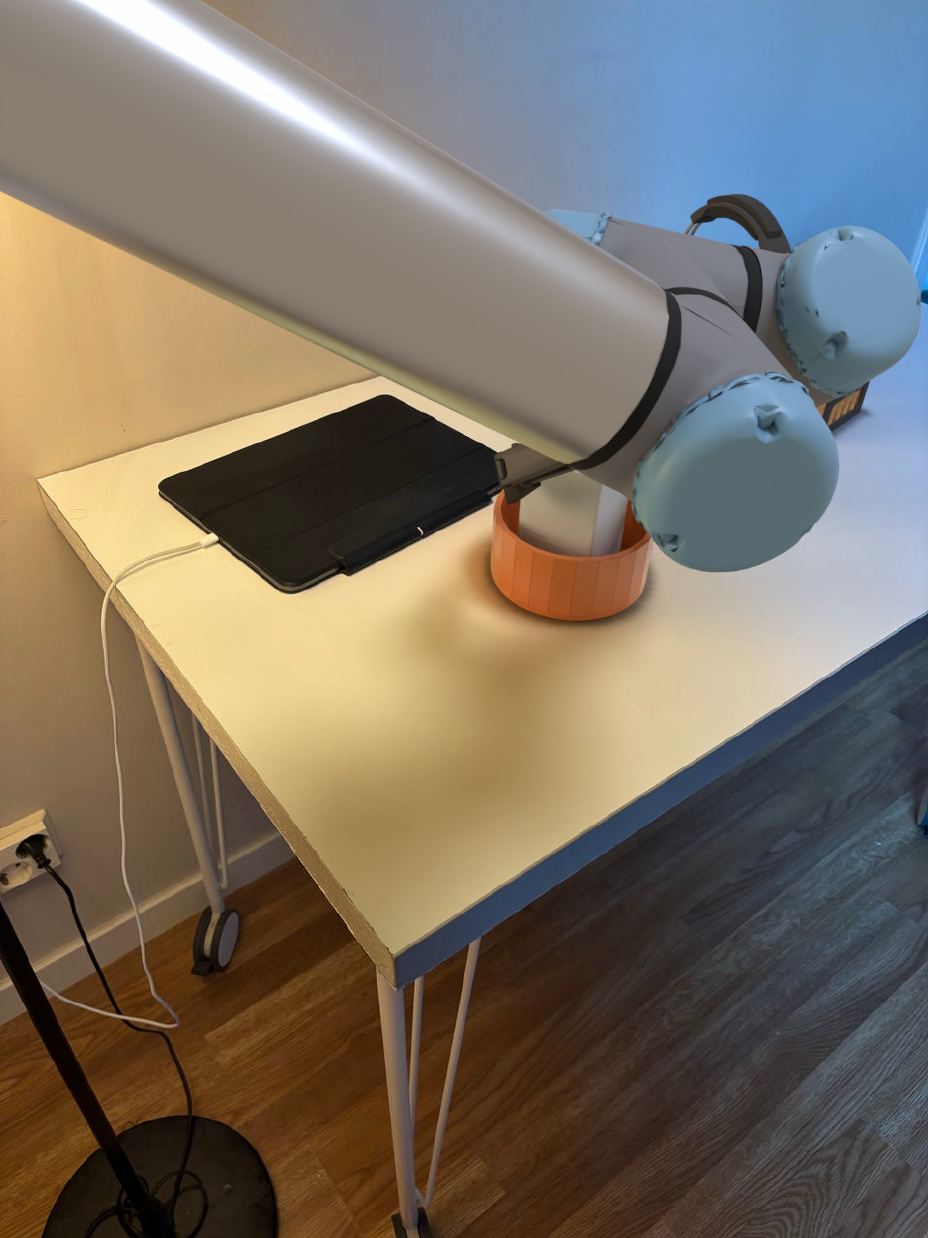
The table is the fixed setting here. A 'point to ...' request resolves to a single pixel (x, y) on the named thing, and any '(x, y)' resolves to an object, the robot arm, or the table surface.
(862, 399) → the ammunition clip
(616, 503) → the white packaging box
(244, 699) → the table surface
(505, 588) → the orange round bowl
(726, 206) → the headphones
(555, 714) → the table surface
